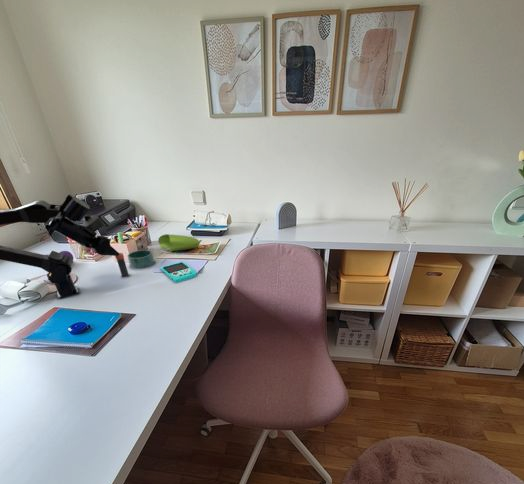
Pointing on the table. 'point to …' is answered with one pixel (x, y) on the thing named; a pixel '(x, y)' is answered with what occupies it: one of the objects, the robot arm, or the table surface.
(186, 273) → the handheld game console
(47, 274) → the kendama
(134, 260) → the pen pot
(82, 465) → the table surface
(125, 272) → the marker
